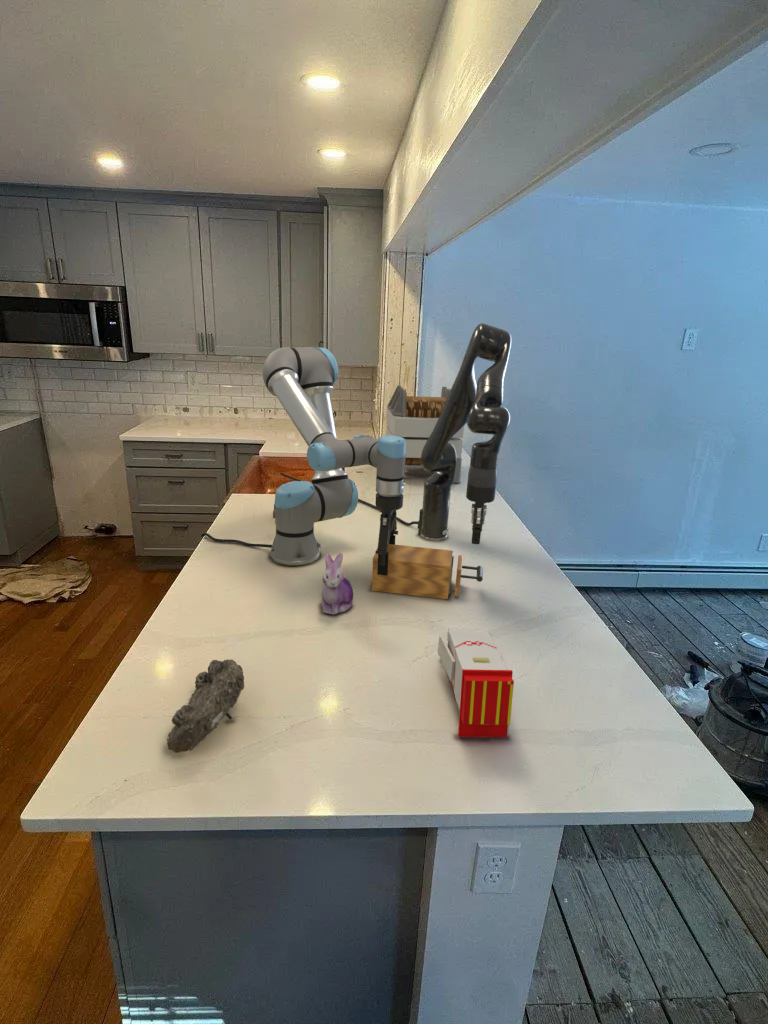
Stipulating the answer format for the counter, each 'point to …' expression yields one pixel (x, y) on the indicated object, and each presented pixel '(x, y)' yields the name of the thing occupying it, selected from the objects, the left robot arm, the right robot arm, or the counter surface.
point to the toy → (478, 682)
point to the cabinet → (414, 571)
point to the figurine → (335, 587)
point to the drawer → (459, 576)
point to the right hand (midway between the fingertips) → (475, 542)
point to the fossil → (206, 705)
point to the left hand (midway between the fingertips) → (386, 564)
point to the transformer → (419, 424)
